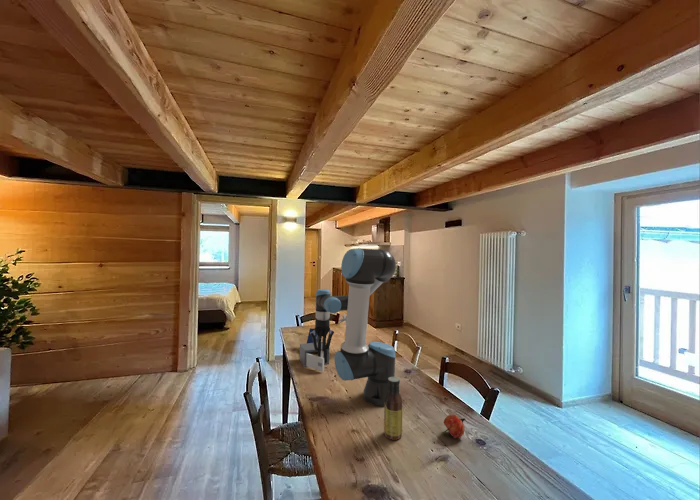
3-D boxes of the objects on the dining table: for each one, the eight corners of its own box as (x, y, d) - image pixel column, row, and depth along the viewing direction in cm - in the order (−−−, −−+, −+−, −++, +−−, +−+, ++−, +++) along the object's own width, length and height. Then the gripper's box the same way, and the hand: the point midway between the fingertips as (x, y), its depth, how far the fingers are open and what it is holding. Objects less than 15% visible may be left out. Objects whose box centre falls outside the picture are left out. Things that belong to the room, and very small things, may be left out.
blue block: (320, 344, 205) (319, 325, 200) (314, 364, 187) (312, 343, 182) (312, 344, 206) (310, 324, 201) (304, 363, 187) (303, 343, 182)
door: (321, 371, 157) (322, 358, 157) (304, 366, 164) (304, 353, 164) (323, 370, 158) (324, 358, 158) (306, 365, 165) (307, 352, 165)
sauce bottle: (390, 428, 110) (391, 373, 110) (405, 435, 106) (407, 378, 106) (379, 436, 105) (381, 378, 105) (395, 444, 101) (397, 384, 101)
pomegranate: (446, 448, 103) (472, 434, 101) (433, 427, 105) (458, 413, 103) (448, 438, 110) (472, 425, 108) (435, 418, 112) (459, 405, 110)
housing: (329, 364, 170) (329, 348, 170) (304, 367, 165) (304, 350, 165) (322, 357, 181) (323, 341, 181) (299, 359, 176) (299, 344, 176)
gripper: (332, 316, 167) (330, 358, 168) (308, 317, 162) (307, 361, 163) (336, 319, 160) (335, 364, 161) (312, 321, 155) (311, 367, 156)
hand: (321, 362), depth 162 cm, fingers closed
